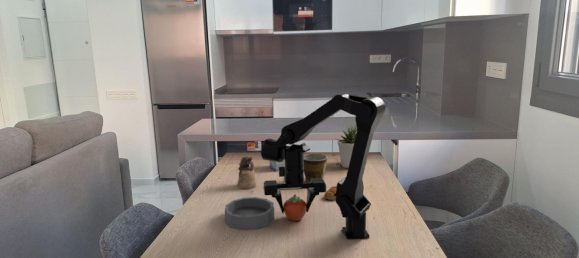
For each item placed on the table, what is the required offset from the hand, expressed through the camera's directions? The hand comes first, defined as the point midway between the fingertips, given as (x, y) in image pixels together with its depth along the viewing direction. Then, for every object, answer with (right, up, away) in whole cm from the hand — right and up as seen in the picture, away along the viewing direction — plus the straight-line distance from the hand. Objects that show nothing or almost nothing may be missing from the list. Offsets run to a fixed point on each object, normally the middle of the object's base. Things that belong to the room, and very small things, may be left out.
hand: (294, 212), depth 122 cm
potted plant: (+25, +9, +51) cm, 58 cm away
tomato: (0, -2, 0) cm, 2 cm away
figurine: (-18, +4, +29) cm, 34 cm away
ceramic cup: (+7, +5, +33) cm, 35 cm away
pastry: (+15, +2, +18) cm, 24 cm away
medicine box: (-7, +8, +50) cm, 51 cm away
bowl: (-14, -2, +1) cm, 14 cm away
